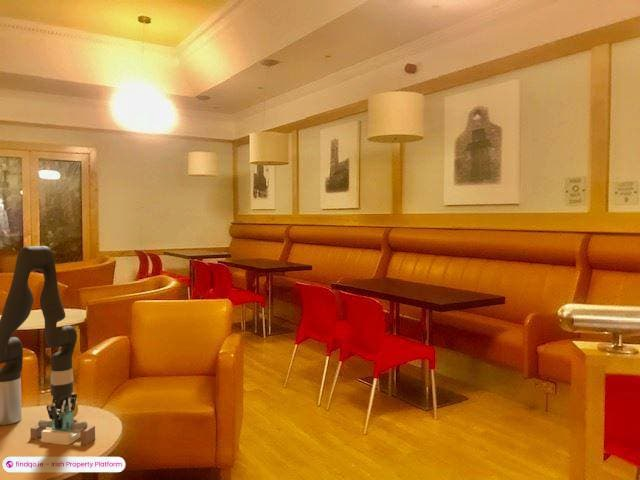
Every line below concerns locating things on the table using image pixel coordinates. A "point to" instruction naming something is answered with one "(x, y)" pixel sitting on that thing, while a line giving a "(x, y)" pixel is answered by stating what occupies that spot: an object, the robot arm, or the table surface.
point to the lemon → (75, 410)
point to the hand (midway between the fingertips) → (62, 426)
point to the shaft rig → (63, 433)
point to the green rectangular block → (64, 420)
